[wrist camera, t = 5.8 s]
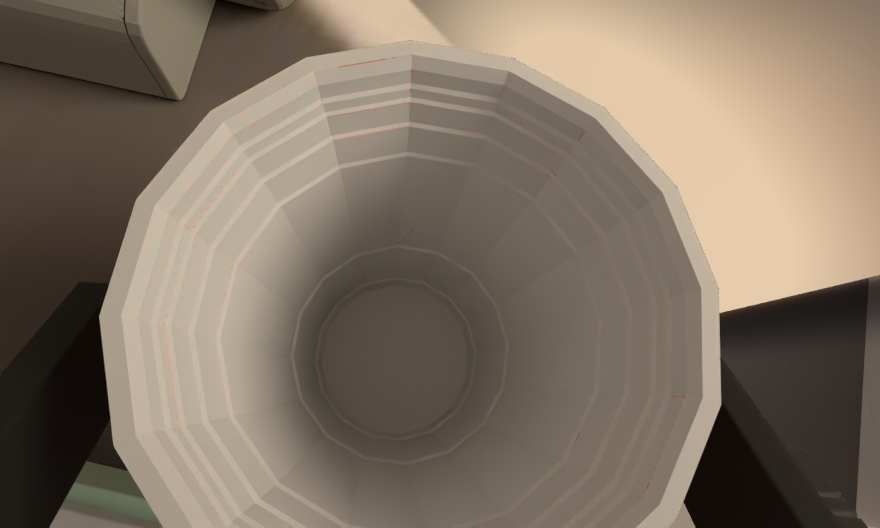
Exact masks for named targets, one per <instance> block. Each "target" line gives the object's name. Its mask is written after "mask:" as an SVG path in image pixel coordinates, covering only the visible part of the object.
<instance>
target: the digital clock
mask: <svg viewBox="0 0 880 528" xmlns="http://www.w3.org/2000/svg"><path fill="white" fill-rule="evenodd" d="M226 1H230V2H235V3H239V4H243V5H248V6H252V7H257V8H261V9H265V10H271V11H279V10H282V9H284V8H286V7H287V6H289V5H291V4H292V3H293V2H294V1H295V0H226ZM214 4H215V0H0V61H1V62H5V63H10V64H14V65H19V66H23V67H28V68H33V69H37V70H42V71H46V72H51V73H55V74H60V75H64V76H69V77H74V78H78V79H83V80H87V81H92V82H96V83H101V84H105V85H110V86H115V87H119V88H124V89H128V90H133V91H137V92H142V93H146V94H151V95H156V96H160V97H165V98H169V99H174V100H178V101H179V100H182V99H183V97H184V96H185V93H186V91H187V87H188V84H189V81H190V78H191V75H192V72H193V69H194V66H195V62H196V59H197V56H198V53H199V50H200V47H201V44H202V41H203V37H204V34H205V31H206V28H207V25H208V22H209V19H210V16H211V13H212V10H213V7H214Z"/></svg>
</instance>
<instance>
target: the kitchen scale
mask: <svg viewBox="0 0 880 528" xmlns="http://www.w3.org/2000/svg"><path fill="white" fill-rule="evenodd" d="M49 528H163V526H162V525H161V523H160V522H159V520H158V518H157V517H156V515H155V513H154V512H153V510H152V508H151V507H150V505H149V504H148V502H147V500H146V499H145V497H144V495H143V494H142V492H141V490H140V489H139V487H138V486H137V484H136V482H135V481H134V479H133V477H132V476H131V474H130V472H129V471H126V470H122V469H118V468H113V467H109V466H105V465H101V464H97V463H93V462H88V461H86V463H85V465H84V466H83V468H82V470H81V472H80V473H79V475H78V477H77V479H76V481H75V482H74V484H73V486H72V488H71V490H70V491H69V493H68V495H67V497H66V499H65V500H64V502H63V504H62V506H61V507H60V509H59V511H58V513H57V515H56V516H55V518H54V520H53V522H52V524H51V525H50V527H49Z"/></svg>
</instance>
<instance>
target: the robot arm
mask: <svg viewBox="0 0 880 528" xmlns="http://www.w3.org/2000/svg"><path fill="white" fill-rule="evenodd" d="M108 287H109V284H105V283H90V282H79V283H78V284H77V285H76V286H75V288H74V289H73V290H72V291H71V292H70V293H69V295H68V296H67V297H66V298H65V299H64V301H63V302H62V303H61V304H60V305H59V306H58V308H57V309H56V310H55V311H54V312H53V314H52V315H51V316H50V317H49V318H48V319H47V321H46V322H45V323H44V324H43V325H42V327H41V328H40V329H39V330H38V331H37V332H36V334H35V335H34V336H33V337H32V338H31V340H30V341H29V342H28V343H27V344H26V346H25V347H24V348H23V349H22V350H21V351H20V353H19V354H18V355H17V356H16V357H15V359H14V360H13V361H12V362H11V363H10V364H9V366H8V367H7V368H6V369H5V370H4V372H3V373H2V374H1V375H0V528H49V527H50V525H51V524H52V522H53V520H54V518H55V516H56V515H57V513H58V511H59V509H60V507H61V506H62V504H63V502H64V500H65V499H66V497H67V495H68V493H69V491H70V490H71V488H72V486H73V484H74V482H75V481H76V479H77V477H78V475H79V473H80V472H81V470H82V468H83V466H84V465H85V463H86V461H87V459H88V457H89V456H90V454H91V452H92V450H93V448H94V447H95V445H96V443H97V441H98V440H99V438H100V436H101V434H102V432H103V431H104V429H105V427H106V425H107V423H108V422H109V420H110V409H109V400H108V391H107V382H106V373H105V364H104V355H103V346H102V337H101V328H100V319H99V315H100V312H101V309H102V306H103V303H104V299H105V296H106V293H107V290H108ZM720 370H721V407H720V409H719V412H718V414H717V417H716V419H715V422H714V424H713V427H712V430H711V432H710V435H709V437H708V440H707V442H706V445H705V447H704V450H703V453H702V455H701V458H700V460H699V463H698V465H697V468H696V470H695V473H694V476H693V478H692V481H691V483H690V486H689V488H688V491H687V494H686V496H685V499H684V501H683V502H684V504H685V506H686V508H687V510H688V512H689V514H690V516H691V518H692V521H693V523H694V525H695V527H696V528H868V527H867V526H866V524H865V523H864V522H863V521H862V519H859V518H858V517H857V513H856V511H855V510H854V509H853V507H852V506H851V505H850V503H849V502H848V501H847V499H843V494H842V493H841V491H840V490H839V489H838V487H837V486H836V485H835V484H834V482H833V481H832V480H831V478H830V477H829V476H828V474H827V473H826V472H825V471H824V470H823V469H822V468H821V467H820V466H818V465H817V464H816V463H815V462H814V461H812V460H811V459H810V458H809V457H808V456H807V455H805V454H804V453H803V452H802V451H788V450H787V449H786V447H785V446H784V444H783V443H782V442H781V440H780V439H779V437H778V436H777V435H776V433H775V432H774V430H773V429H772V428H771V426H770V425H769V424H768V422H767V421H766V419H765V418H764V417H763V415H762V414H761V412H760V411H759V410H758V408H757V407H756V405H755V404H754V403H753V401H752V400H751V398H750V397H749V396H748V394H747V393H746V391H745V390H744V389H743V387H742V386H741V384H740V383H739V382H738V380H737V379H736V377H735V376H734V375H733V373H732V372H731V370H730V369H729V368H728V366H727V365H726V364H725V362H724V361H723V359H722V358H721V357H720Z"/></svg>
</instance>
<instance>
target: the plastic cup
mask: <svg viewBox="0 0 880 528" xmlns="http://www.w3.org/2000/svg"><path fill="white" fill-rule="evenodd" d="M99 319H100V328H101V337H102V346H103V355H104V364H105V373H106V382H107V391H108V400H109V409H110V418H111V427H112V437H113V446H114V448H115V450H116V451H117V453H118V454H119V456H120V458H121V459H122V461H123V463H124V464H125V466H126V468H127V469H128V471H129V472H130V474H131V476H132V477H133V479H134V481H135V482H136V484H137V486H138V487H139V489H140V490H141V492H142V494H143V495H144V497H145V499H146V500H147V502H148V504H149V505H150V507H151V508H152V510H153V512H154V513H155V515H156V517H157V518H158V520H159V522H160V523H161V525H162V526H163V528H668V527H670V525H672V523H674V522H675V521H676V519H677V517H678V514H679V511H680V509H681V506H682V504H683V501H684V499H685V496H686V494H687V491H688V488H689V486H690V483H691V481H692V478H693V476H694V473H695V470H696V468H697V465H698V463H699V460H700V458H701V455H702V453H703V450H704V447H705V445H706V442H707V440H708V437H709V435H710V432H711V430H712V427H713V424H714V422H715V419H716V417H717V414H718V412H719V409H720V407H721V370H720V326H719V288H718V286H717V283H716V281H715V278H714V276H713V273H712V271H711V269H710V266H709V264H708V261H707V259H706V256H705V254H704V252H703V249H702V247H701V244H700V242H699V240H698V237H697V235H696V232H695V230H694V228H693V225H692V223H691V220H690V218H689V215H688V213H687V210H686V208H685V206H684V203H683V201H682V198H681V196H680V193H679V191H678V189H677V186H676V185H675V184H674V183H673V182H672V181H671V180H670V179H669V178H668V176H667V175H666V174H665V173H664V172H663V171H662V170H661V169H660V168H659V166H658V165H657V164H656V163H655V162H654V161H653V160H652V159H651V158H650V157H649V155H648V154H646V152H645V151H644V150H643V149H642V148H641V147H640V146H639V145H638V144H637V142H636V141H635V140H634V139H633V138H632V137H631V136H630V135H629V134H628V132H627V131H626V130H625V129H624V128H623V127H622V126H621V125H620V124H619V123H618V121H617V120H616V119H615V118H614V117H613V116H612V115H611V114H610V113H609V112H608V111H607V109H606V108H604V107H603V106H601V105H599V104H597V103H595V102H594V101H592V100H590V99H588V98H586V97H584V96H582V95H581V94H579V93H577V92H575V91H573V90H571V89H569V88H567V87H566V86H564V85H562V84H560V83H559V82H557V81H554V80H553V79H551V78H549V77H547V76H546V75H544V74H542V73H540V72H538V71H536V70H535V69H532V68H531V67H529V66H527V65H525V64H524V63H522V62H520V61H518V60H516V59H514V58H511V57H505V56H499V55H493V54H488V53H482V52H475V51H470V50H464V49H458V48H452V47H447V46H441V45H435V44H429V43H423V42H417V41H412V40H410V41H404V42H398V43H392V44H385V45H379V46H373V47H367V48H361V49H355V50H349V51H343V52H337V53H331V54H325V55H318V56H312V57H306V58H304V59H303V60H301V61H299V62H297V63H295V64H294V65H292V66H290V67H288V68H286V69H285V70H283V71H281V72H279V73H277V74H276V75H274V76H272V77H270V78H268V79H267V80H265V81H263V82H261V83H259V84H258V85H256V86H254V87H252V88H251V89H249V90H247V91H245V92H243V93H242V94H240V95H238V96H236V97H234V98H233V99H231V100H229V101H227V102H225V103H224V104H222V105H220V106H218V107H216V108H215V109H213V110H211V111H210V112H209V113H208V114H207V115H206V117H205V118H204V119H203V120H202V121H201V123H200V124H199V125H198V126H197V127H196V129H195V130H194V131H193V132H192V133H191V135H190V136H189V137H188V138H187V139H186V140H185V142H184V143H183V144H182V145H181V146H180V148H179V149H178V150H177V151H176V152H175V154H174V155H173V156H172V157H171V158H170V160H169V161H168V162H167V163H166V164H165V166H164V167H163V168H162V169H161V170H160V172H159V173H158V174H157V175H156V176H155V177H154V179H153V180H152V181H151V182H150V183H149V185H148V186H147V187H146V188H145V189H144V191H143V192H142V193H141V194H140V195H139V197H138V198H137V199H136V202H135V205H134V208H133V211H132V214H131V217H130V221H129V224H128V227H127V230H126V233H125V236H124V239H123V243H122V246H121V249H120V252H119V255H118V258H117V262H116V265H115V268H114V271H113V274H112V277H111V281H110V284H109V287H108V290H107V293H106V296H105V299H104V303H103V306H102V309H101V312H100V315H99Z"/></svg>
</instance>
